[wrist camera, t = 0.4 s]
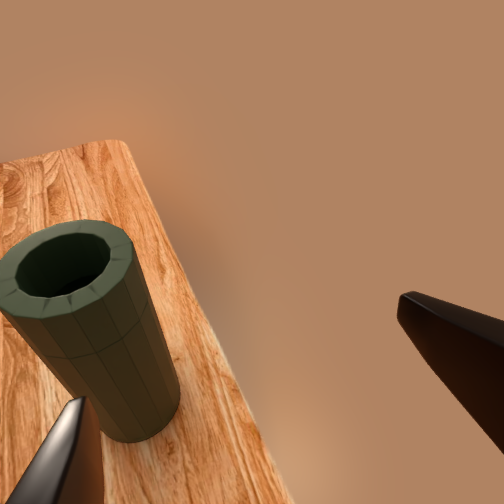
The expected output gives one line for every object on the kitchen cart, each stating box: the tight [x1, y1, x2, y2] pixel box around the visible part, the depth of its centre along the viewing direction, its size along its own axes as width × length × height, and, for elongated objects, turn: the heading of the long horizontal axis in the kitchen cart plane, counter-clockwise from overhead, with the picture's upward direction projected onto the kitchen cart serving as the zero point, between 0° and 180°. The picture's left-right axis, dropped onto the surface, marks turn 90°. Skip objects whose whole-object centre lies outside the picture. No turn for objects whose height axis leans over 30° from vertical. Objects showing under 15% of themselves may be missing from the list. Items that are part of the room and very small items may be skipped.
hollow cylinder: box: [0, 219, 180, 443], centre depth 21 cm, size 6×6×14 cm
